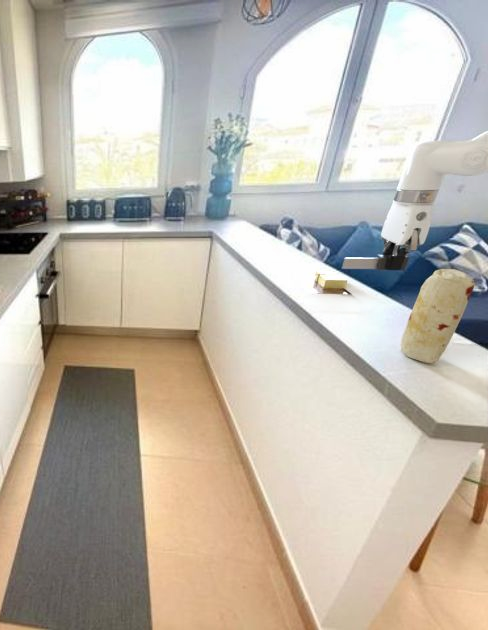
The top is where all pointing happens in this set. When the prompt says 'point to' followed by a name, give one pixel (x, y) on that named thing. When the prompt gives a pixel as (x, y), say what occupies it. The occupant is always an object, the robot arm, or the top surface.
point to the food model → (436, 314)
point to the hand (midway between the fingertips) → (389, 267)
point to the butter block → (332, 281)
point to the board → (316, 286)
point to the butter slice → (324, 274)
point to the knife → (370, 263)
